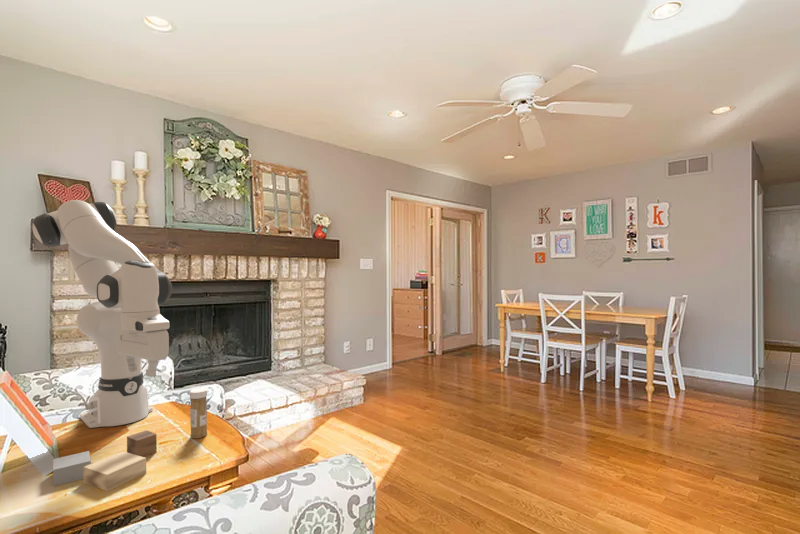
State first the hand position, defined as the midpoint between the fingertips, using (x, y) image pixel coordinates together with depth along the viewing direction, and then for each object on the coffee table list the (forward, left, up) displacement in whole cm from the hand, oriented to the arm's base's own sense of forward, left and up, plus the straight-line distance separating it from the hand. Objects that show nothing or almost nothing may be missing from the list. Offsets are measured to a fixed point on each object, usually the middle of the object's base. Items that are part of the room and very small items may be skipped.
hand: (141, 373), depth 114 cm
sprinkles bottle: (+2, +15, -22) cm, 26 cm away
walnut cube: (0, 0, -22) cm, 22 cm away
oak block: (+8, -10, -22) cm, 25 cm away
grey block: (-2, -15, -22) cm, 26 cm away
